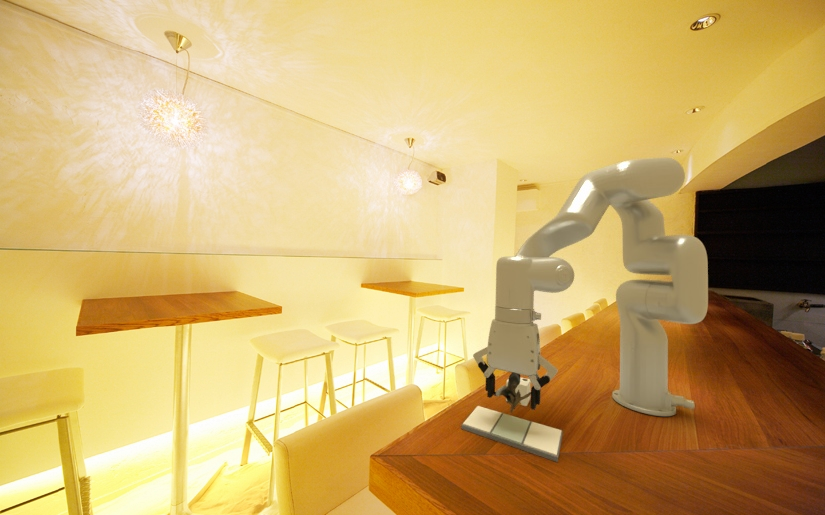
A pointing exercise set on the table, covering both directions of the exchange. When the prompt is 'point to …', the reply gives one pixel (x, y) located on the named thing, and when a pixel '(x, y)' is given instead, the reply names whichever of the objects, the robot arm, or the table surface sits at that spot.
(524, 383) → the die
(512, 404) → the eagle figurine
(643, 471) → the table surface
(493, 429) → the game board
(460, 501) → the table surface
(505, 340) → the robot arm
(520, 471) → the table surface
